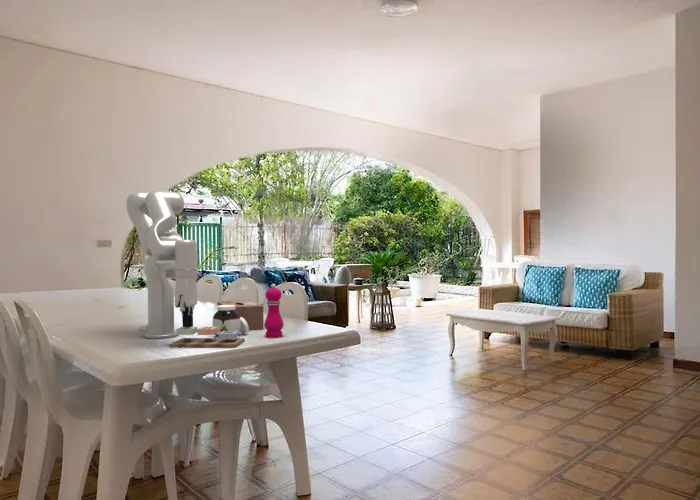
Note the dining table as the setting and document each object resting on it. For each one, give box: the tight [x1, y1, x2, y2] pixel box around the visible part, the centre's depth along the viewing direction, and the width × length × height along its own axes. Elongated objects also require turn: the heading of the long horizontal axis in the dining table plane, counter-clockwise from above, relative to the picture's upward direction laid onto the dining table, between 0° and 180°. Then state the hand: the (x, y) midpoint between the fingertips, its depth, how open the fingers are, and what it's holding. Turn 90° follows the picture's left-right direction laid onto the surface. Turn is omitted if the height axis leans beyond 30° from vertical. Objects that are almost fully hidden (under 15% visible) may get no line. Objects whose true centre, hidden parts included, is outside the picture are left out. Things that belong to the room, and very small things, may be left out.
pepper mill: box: [264, 283, 284, 339], centre depth 209 cm, size 7×7×20 cm
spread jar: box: [212, 305, 250, 338], centre depth 212 cm, size 12×11×12 cm
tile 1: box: [175, 326, 198, 336], centre depth 194 cm, size 6×6×2 cm
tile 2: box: [197, 326, 218, 336], centre depth 194 cm, size 6×6×2 cm
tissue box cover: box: [216, 299, 265, 332], centre depth 234 cm, size 26×14×10 cm, turn 23°
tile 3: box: [218, 331, 240, 339], centre depth 193 cm, size 6×6×2 cm
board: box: [168, 337, 246, 349], centre depth 194 cm, size 23×12×2 cm, turn 86°
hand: (187, 326), depth 194 cm, fingers closed
